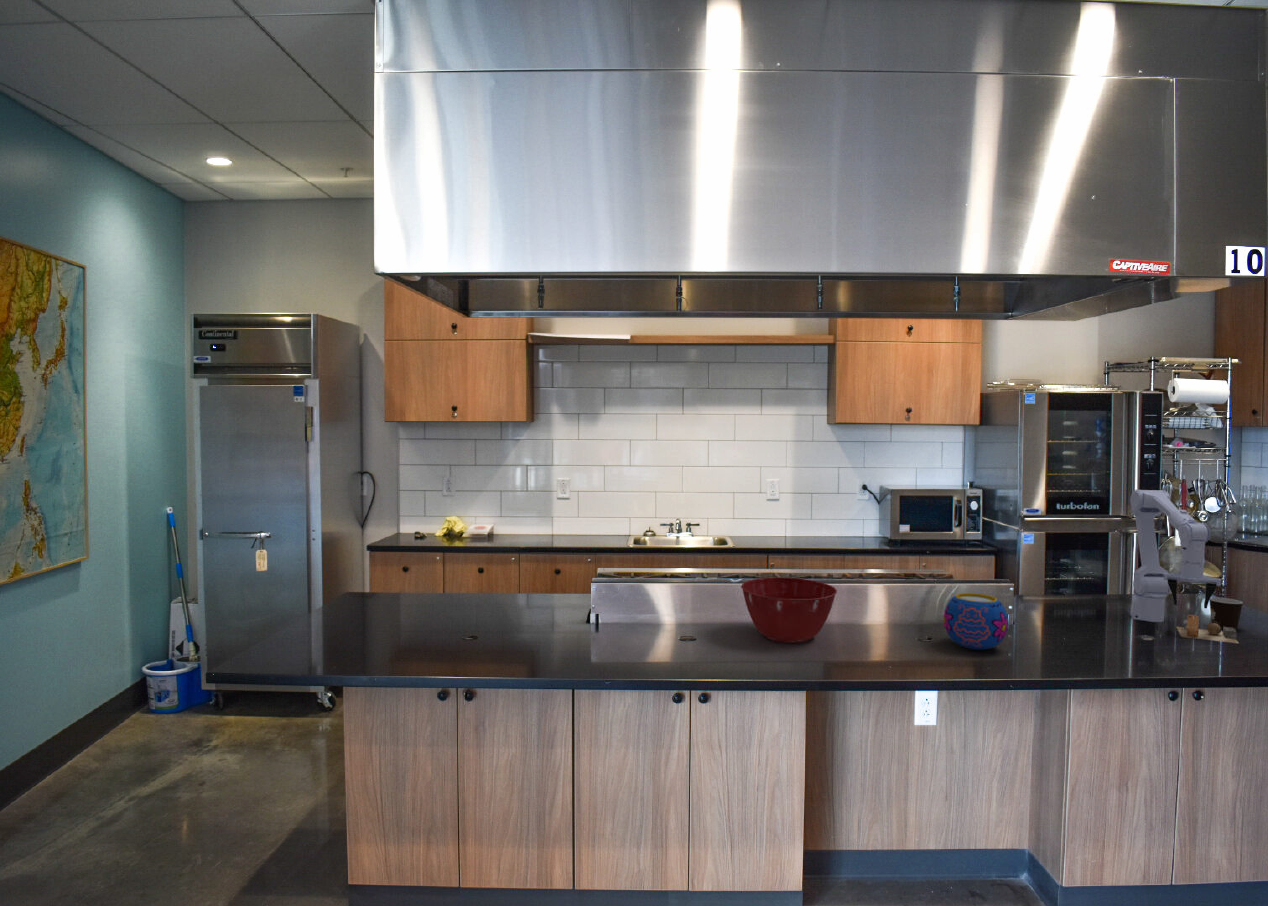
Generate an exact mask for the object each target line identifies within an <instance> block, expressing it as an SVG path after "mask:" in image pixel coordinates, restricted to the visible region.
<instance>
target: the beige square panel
mask: <svg viewBox="0 0 1268 906" xmlns="http://www.w3.org/2000/svg"><path fill="white" fill-rule="evenodd" d="M1186 627H1187V624H1185V625H1184V627H1182V626H1176V629H1177V632H1178V633H1179V635H1180V637H1181V638H1189V639H1198V640H1205V641H1206V640H1207V641H1213V642H1214V641H1215V642H1223V643H1232V644H1240V643H1239V641H1238V640H1237V631H1238V630H1237V631H1236V630H1235V629H1234V628H1230V627H1223V630H1222V631H1221V632H1220V633H1219V634H1218V635H1212V634H1210V633H1209V632H1208V630H1207V629H1202V628H1199V633H1198V637H1192V636H1188V635H1187V628H1186Z"/></svg>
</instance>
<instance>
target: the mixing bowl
mask: <svg viewBox="0 0 1268 906" xmlns="http://www.w3.org/2000/svg"><path fill="white" fill-rule="evenodd" d="M740 588H741V590H742V593H743V598H744V602H745V604H746V605H745V606H746V608H747V611H748V615H749V616H750V619H751V620H752V623H753V625H754V627H755V628H756V629H757V631H758V632H759V633H760V634H761V635H763V636H764V637H765V638H766V639H768V640H771V641H773V642H777V643H783V644H801V643H805V642H808V641H810V640H811V639H813V638H815V637H816V636H817V635H818V634H819V633H820V632H821V630H822V629H823V627H824V625H825V623H826V621H827V619H828V617H829V615H830V613H831V610H832V608H833V605H834V600H835V596H836V594H837V593H838V590H837V589H836V587H834V586H832V585H830V584H828V583H825V582H821V581H816V580H811V579H805V578H796V577H762V578H756V579H750V580H747V581H745V582H743V583H741V585H740Z"/></svg>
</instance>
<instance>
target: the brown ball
mask: <svg viewBox="0 0 1268 906" xmlns="http://www.w3.org/2000/svg"><path fill="white" fill-rule="evenodd" d="M1206 630H1208V632H1209V633H1210V634H1212V635H1218V634H1219V633H1220V632H1222V630H1221V627H1220V626H1219V625H1218V624H1216V623H1211V622H1210V623H1209V624H1208V625H1207V626H1206Z"/></svg>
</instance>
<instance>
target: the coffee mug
mask: <svg viewBox="0 0 1268 906" xmlns="http://www.w3.org/2000/svg"><path fill="white" fill-rule="evenodd" d="M1242 609H1243V601H1241V600H1238V599H1233V598H1227V597H1211V598H1210V600H1209V610H1210V619H1211V622H1210V624H1211V623H1216V624H1218V625H1219V626H1220V627H1221V631H1223V627H1230V628H1234V629H1235V630H1236V631H1238V627H1239V624H1240V623H1239V622H1240V619H1241V613H1242Z"/></svg>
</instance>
